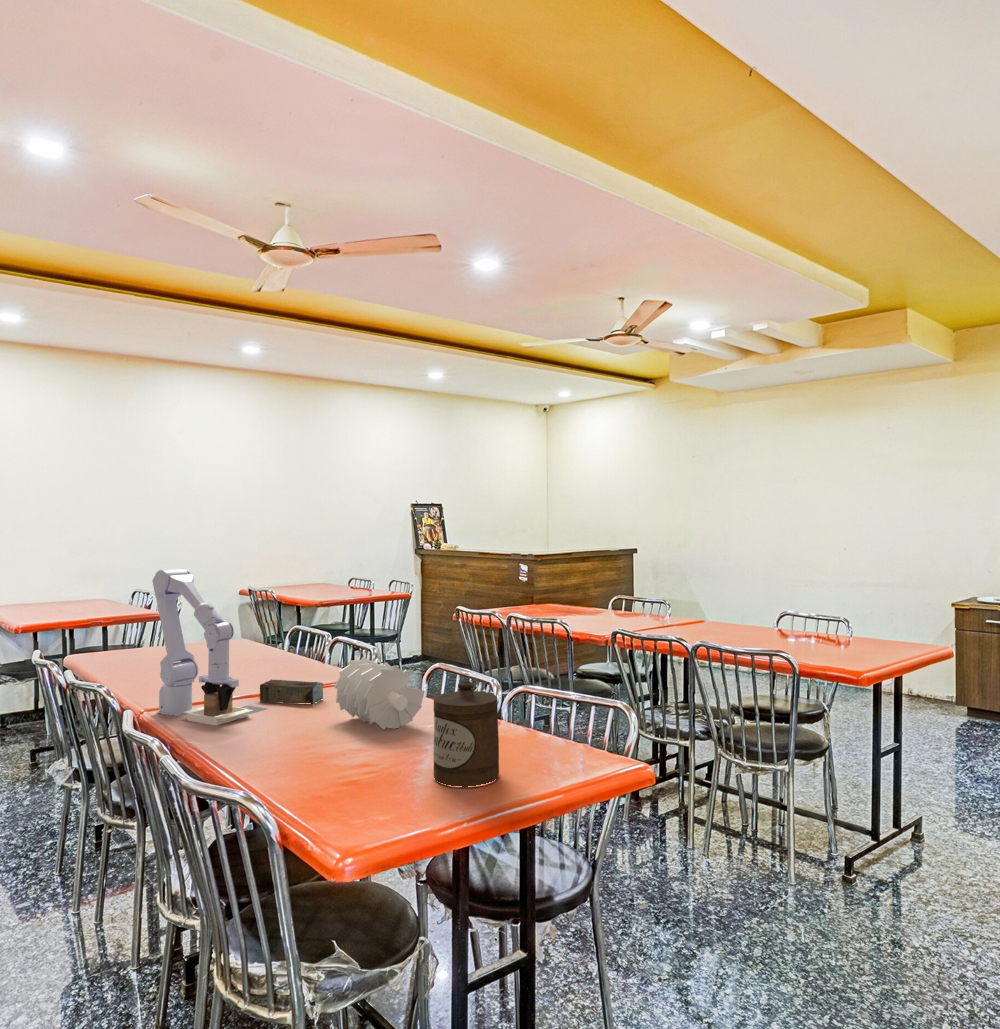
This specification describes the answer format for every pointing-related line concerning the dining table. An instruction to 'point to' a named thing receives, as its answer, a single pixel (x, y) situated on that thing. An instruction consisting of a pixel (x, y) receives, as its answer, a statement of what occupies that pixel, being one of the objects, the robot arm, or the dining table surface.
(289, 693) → the beverage carton
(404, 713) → the spiral staircase
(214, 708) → the walnut block
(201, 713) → the white tray
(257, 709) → the mat
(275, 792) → the dining table surface
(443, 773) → the wooden container
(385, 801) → the dining table surface
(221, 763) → the dining table surface
